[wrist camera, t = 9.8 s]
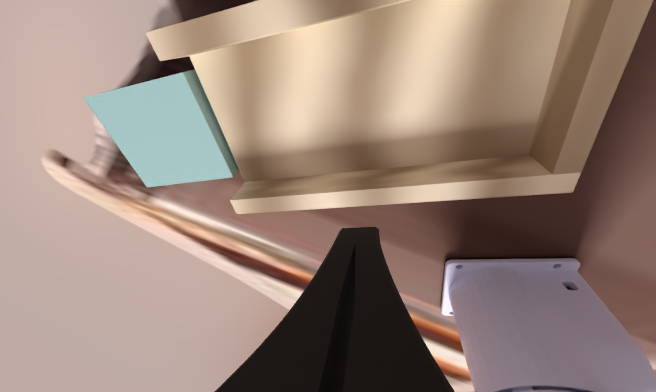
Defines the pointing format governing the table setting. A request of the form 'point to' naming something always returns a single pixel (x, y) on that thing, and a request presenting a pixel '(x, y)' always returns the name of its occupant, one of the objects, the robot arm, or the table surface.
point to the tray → (407, 95)
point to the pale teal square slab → (166, 130)
